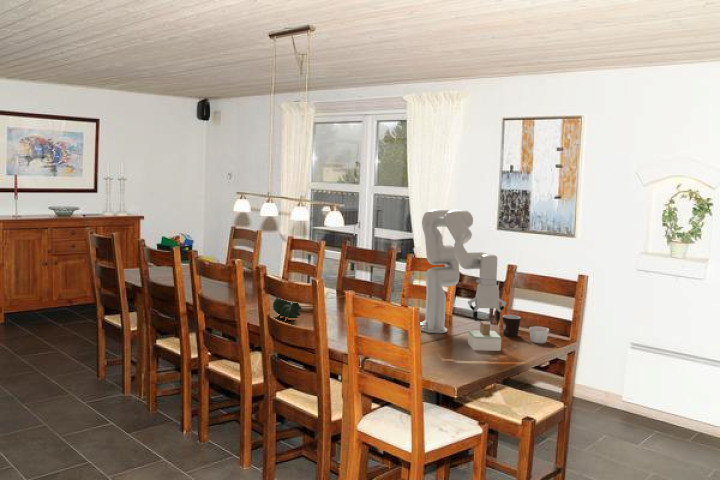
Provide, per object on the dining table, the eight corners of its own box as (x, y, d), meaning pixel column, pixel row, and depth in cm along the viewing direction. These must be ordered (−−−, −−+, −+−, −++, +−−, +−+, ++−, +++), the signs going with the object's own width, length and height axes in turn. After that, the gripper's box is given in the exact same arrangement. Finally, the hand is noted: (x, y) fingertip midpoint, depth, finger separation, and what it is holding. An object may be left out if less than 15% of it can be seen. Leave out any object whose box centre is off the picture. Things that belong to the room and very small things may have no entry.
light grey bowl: (552, 343, 321) (553, 330, 321) (536, 344, 318) (537, 331, 317) (540, 338, 330) (541, 326, 329) (524, 340, 326) (525, 327, 325)
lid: (474, 338, 299) (475, 325, 299) (468, 332, 311) (469, 319, 310) (500, 339, 300) (501, 326, 299) (494, 333, 312) (495, 320, 311)
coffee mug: (519, 340, 325) (521, 319, 324) (501, 338, 327) (502, 318, 326) (519, 334, 337) (520, 314, 336) (501, 333, 339) (502, 313, 338)
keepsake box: (473, 352, 300) (474, 338, 299) (467, 345, 312) (468, 332, 311) (500, 352, 300) (501, 339, 300) (493, 345, 312) (494, 332, 312)
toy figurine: (304, 326, 344) (283, 312, 364) (307, 290, 340) (285, 278, 361) (287, 328, 339) (266, 313, 359) (290, 291, 335) (269, 279, 356)
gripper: (470, 283, 299) (468, 321, 300) (509, 283, 300) (507, 322, 301) (466, 280, 306) (465, 318, 308) (504, 281, 307) (503, 318, 308)
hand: (486, 320), depth 304 cm, fingers open, 9 cm apart
